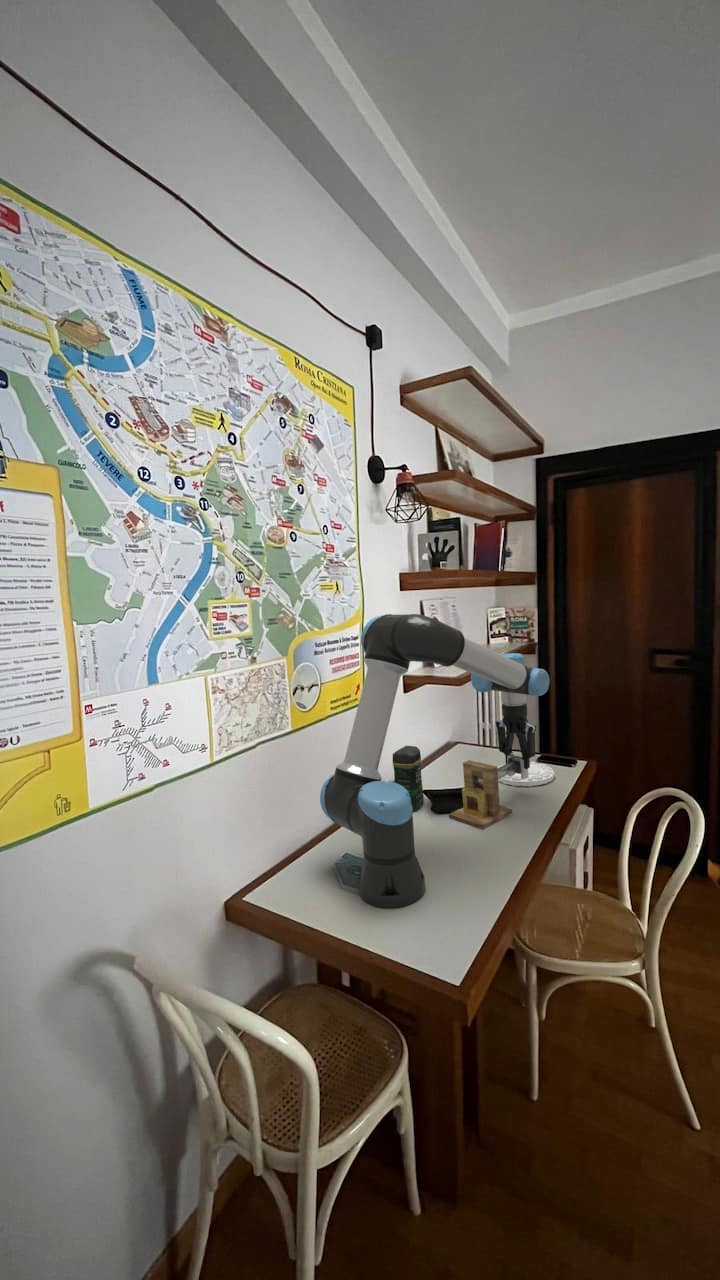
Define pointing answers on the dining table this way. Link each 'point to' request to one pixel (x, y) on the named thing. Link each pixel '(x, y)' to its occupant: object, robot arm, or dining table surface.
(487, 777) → the bracket
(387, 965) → the dining table surface
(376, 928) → the dining table surface
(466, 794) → the spacer
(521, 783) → the giant coin
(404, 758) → the coffee jar
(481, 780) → the shaft
